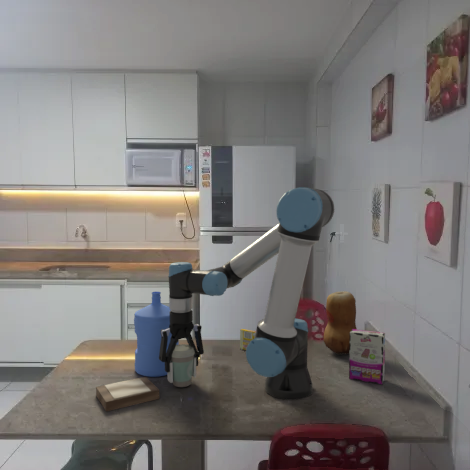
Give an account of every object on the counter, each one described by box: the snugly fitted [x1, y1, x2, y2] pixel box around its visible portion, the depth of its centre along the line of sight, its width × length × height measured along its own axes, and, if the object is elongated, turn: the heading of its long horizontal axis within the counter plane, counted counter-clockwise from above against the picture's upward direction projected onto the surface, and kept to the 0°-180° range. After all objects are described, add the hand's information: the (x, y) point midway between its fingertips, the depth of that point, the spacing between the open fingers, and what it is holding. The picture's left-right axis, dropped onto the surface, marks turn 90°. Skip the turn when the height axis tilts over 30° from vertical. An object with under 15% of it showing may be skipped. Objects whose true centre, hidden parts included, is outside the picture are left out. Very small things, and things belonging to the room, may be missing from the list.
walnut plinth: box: [95, 376, 160, 412], centre depth 132 cm, size 12×16×3 cm
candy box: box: [239, 328, 256, 351], centre depth 174 cm, size 16×2×8 cm, turn 59°
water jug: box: [133, 291, 180, 378], centre depth 154 cm, size 16×16×28 cm
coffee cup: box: [171, 343, 195, 388], centre depth 141 cm, size 8×9×12 cm
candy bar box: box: [348, 329, 386, 385], centre depth 146 cm, size 11×5×16 cm, turn 64°
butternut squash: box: [323, 290, 358, 356], centre depth 171 cm, size 14×13×25 cm
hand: (182, 378), depth 141 cm, fingers closed on coffee cup, 8 cm apart
